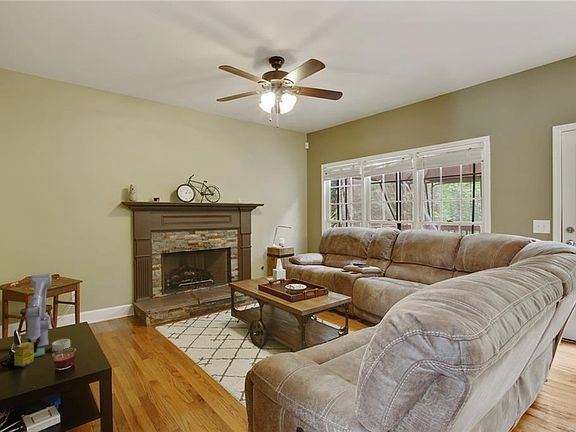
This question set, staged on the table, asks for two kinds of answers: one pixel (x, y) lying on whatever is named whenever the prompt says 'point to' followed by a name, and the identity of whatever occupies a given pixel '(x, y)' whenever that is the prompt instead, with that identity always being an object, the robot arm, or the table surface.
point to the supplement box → (24, 354)
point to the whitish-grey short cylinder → (60, 344)
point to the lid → (39, 352)
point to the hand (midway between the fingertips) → (33, 351)
